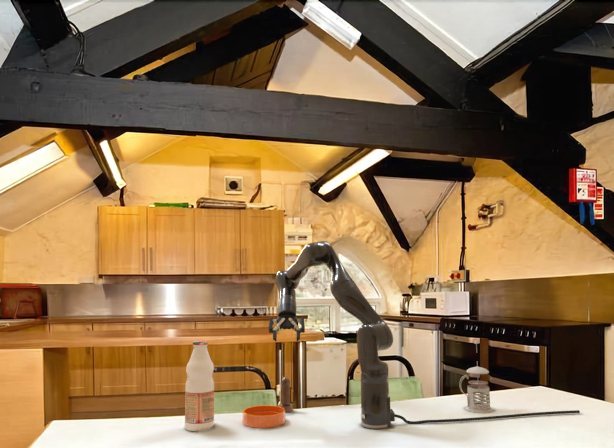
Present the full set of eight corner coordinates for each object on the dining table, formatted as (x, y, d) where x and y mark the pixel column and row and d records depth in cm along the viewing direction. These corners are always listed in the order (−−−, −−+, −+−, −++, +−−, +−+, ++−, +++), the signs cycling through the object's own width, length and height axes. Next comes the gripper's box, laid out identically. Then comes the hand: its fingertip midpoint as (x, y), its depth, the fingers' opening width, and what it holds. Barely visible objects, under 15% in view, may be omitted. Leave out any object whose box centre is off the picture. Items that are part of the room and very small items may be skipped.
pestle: (293, 411, 193) (292, 376, 194) (292, 414, 188) (292, 378, 189) (278, 411, 193) (278, 376, 194) (278, 415, 188) (278, 378, 189)
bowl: (285, 418, 184) (285, 405, 184) (284, 430, 169) (284, 415, 170) (244, 418, 183) (245, 405, 184) (240, 430, 169) (240, 416, 170)
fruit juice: (182, 432, 168) (183, 343, 171) (187, 423, 178) (188, 339, 180) (211, 431, 169) (212, 342, 171) (215, 423, 178) (216, 339, 181)
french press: (497, 412, 189) (494, 341, 191) (464, 413, 189) (462, 342, 191) (488, 406, 198) (485, 338, 201) (457, 406, 199) (454, 338, 201)
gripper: (269, 302, 215) (267, 334, 202) (304, 302, 215) (304, 333, 202) (270, 314, 219) (268, 346, 207) (304, 314, 220) (304, 345, 207)
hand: (286, 340), depth 204 cm, fingers open, 8 cm apart
